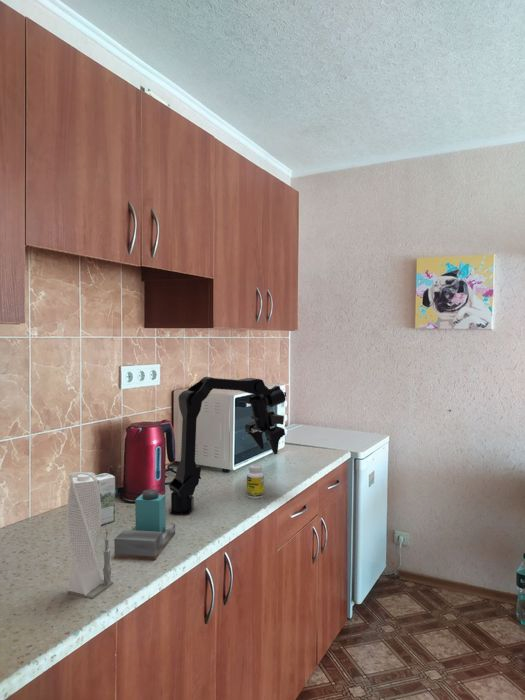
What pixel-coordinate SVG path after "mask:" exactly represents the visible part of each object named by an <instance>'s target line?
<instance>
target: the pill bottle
mask: <svg viewBox="0 0 525 700" xmlns="http://www.w3.org/2000/svg"><path fill="white" fill-rule="evenodd" d="M264 477H265V473H264V472H263V466H262V465H260V464H251V465H249V466H248V472H247V473H246V496H247V497H248V498H249V499H252V500H253V499H254V500H257V499H261V498H263V497H264V495H265V494H264V493H265V488H264V487H265V484H264V483H265V479H264Z"/></svg>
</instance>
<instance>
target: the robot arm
mask: <svg viewBox="0 0 525 700" xmlns="http://www.w3.org/2000/svg"><path fill="white" fill-rule="evenodd" d="M213 389H214V390H229V391H239V392H242V393H247V394H251V395H253V396H250V395H247V396H246V398H245V400H244V401H243V402H244V404H248V405H250V408H251V413H252V414H251V415H250V418H251V419H253V421H250V422H248V423H246V424H245V426H244V430H245V433H247V435H249V437H251V438H252V440H253V441H254V443H255V444H256V445H257V447H259V449H260V450H263V449H264V447H265V446H264V439H263V438H264V437H266V439H265V440H266V442H267V444H268V445H269V448H270V449H271V451H272V453H273V454H274V455H278V451H279V443H280V440H281V439H282V438H283V437H284V436H285V435H286V431H285V429H284V428H283V427H280V426H276V425H284V419H285V416H284V415H281V414H277V413H276V412H275V411H272V410H269V409H268V407H269V408H273V407H276V406H278V405H279V406H280V405H281V404H284V403H285V402H286V395H285V393H284V391H283V390H282V389H281V386H280V385H275V386H273V387H271V388H269V387H268V386H266V385H265V382H264V380H263V379H260V378H255V377H246V378H240V379H232V378H231V379H230V378H217V377H211V376H203V377H202V378H201V379H200V380H199V381H198V382H196V383H194V384H193V385H191V386H190V387H189V388H188V389H187V390H183V391H182V392H181V393H180V394H179V395H178V406H179V411H180V414H181V417H182V423H181V424H182V425H181V447H180V448H181V450H180V461H179V463H178V465H177V468H176V473H175V476H174V478H173V479H172V480H171V482H169V484H168V488H169V490H170V491H171V493H170V495H171V496H170V497H171V498H170V503H171V504H170V507H171V510H170V511H169V515H187V516H188V515H190V514H191V513H192V511H193V509H194V507H195V506H194V504H195V503H194V501H195V500H194V498H195V497H194V496H193V495H195V494H194V493H195V492H196V491H195V490H196V487H198V485H199V483H200V480H202V478H201V472H202V471H201V470H202V467H201V466H200V465H199V464H197V463H196V443H197V442H196V441H197V421H198V420H197V419H198V416H199V414H200V412H201V411H202V410H201V409H202V404H203V401H204V400H206V399H207V397H208V396H209V394H210V393H211V392H212V390H213ZM263 433H264V435H265V436H264V437H263Z"/></svg>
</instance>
